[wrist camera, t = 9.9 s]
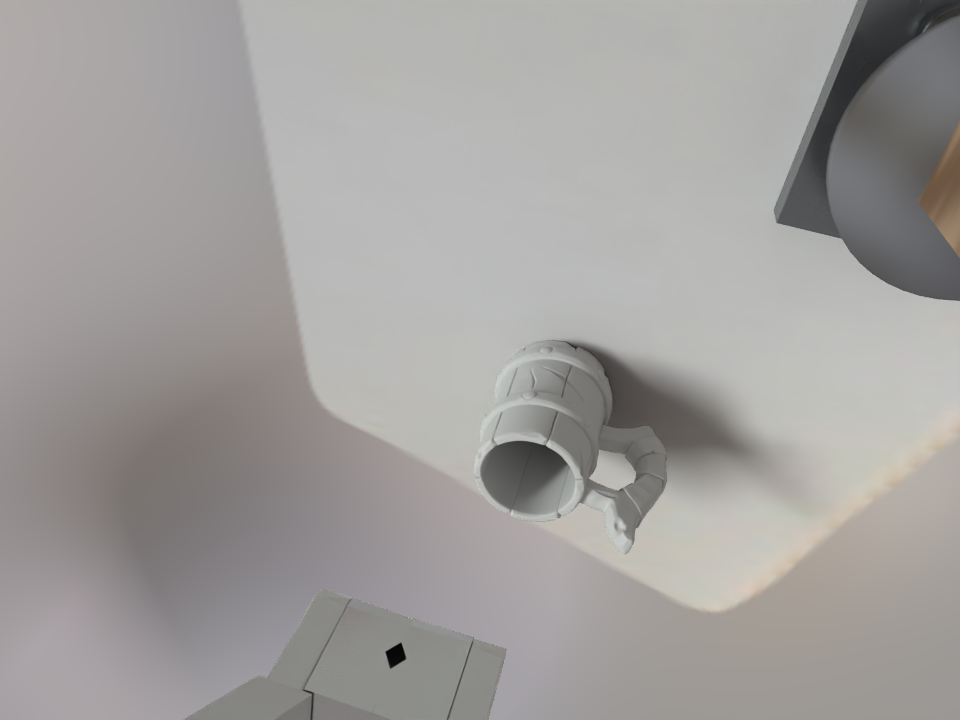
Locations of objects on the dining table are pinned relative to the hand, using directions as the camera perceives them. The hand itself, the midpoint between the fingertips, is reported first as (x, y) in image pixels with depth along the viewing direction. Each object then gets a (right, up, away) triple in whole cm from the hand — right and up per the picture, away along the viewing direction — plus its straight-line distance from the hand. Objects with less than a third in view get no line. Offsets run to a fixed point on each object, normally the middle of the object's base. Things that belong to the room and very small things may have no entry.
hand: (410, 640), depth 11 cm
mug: (+8, +2, +38) cm, 39 cm away
